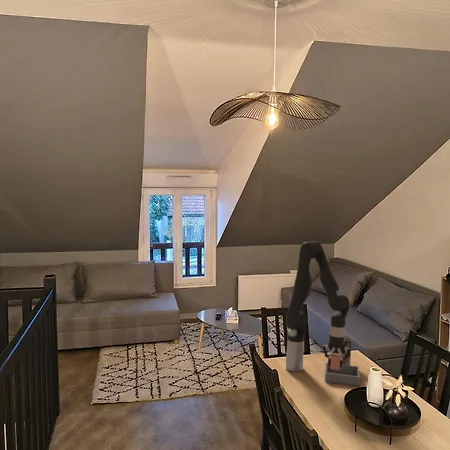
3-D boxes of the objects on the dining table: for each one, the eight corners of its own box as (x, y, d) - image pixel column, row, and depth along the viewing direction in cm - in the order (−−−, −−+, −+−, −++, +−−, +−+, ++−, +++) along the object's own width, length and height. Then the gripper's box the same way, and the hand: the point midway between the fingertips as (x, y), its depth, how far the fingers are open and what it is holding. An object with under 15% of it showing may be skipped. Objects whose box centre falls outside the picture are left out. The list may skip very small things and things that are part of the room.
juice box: (330, 369, 224) (331, 356, 223) (330, 365, 228) (331, 352, 227) (339, 370, 223) (340, 357, 222) (339, 366, 227) (340, 353, 226)
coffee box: (348, 363, 257) (349, 337, 255) (350, 368, 251) (351, 341, 249) (332, 362, 258) (333, 336, 256) (334, 367, 252) (335, 340, 250)
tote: (324, 381, 234) (325, 373, 233) (325, 371, 247) (325, 362, 246) (359, 386, 229) (359, 377, 229) (357, 375, 242) (358, 366, 242)
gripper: (322, 334, 221) (320, 366, 223) (352, 338, 218) (349, 370, 220) (323, 329, 228) (321, 360, 231) (351, 333, 225) (349, 364, 227)
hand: (335, 365), depth 225 cm, fingers closed on juice box, 4 cm apart
